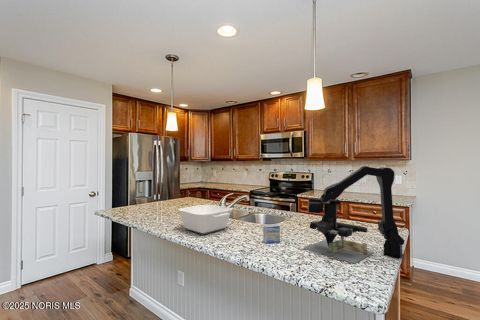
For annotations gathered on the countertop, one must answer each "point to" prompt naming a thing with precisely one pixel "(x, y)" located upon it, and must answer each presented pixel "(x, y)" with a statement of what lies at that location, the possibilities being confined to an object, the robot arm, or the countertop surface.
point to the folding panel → (335, 245)
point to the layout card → (338, 252)
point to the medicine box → (271, 234)
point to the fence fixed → (354, 246)
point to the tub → (205, 218)
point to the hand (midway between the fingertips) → (329, 246)
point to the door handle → (352, 227)
